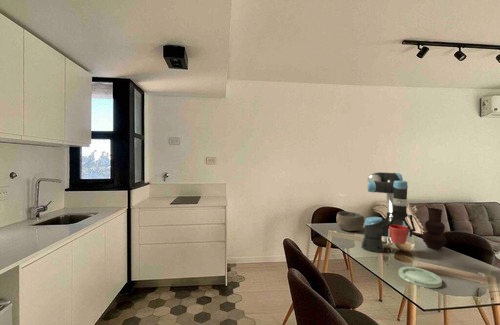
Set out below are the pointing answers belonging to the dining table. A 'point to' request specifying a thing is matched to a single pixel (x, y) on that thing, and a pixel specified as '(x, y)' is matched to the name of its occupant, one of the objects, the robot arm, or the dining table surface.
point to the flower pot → (398, 234)
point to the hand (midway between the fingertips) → (398, 240)
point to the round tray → (420, 277)
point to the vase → (434, 230)
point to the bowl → (350, 221)
